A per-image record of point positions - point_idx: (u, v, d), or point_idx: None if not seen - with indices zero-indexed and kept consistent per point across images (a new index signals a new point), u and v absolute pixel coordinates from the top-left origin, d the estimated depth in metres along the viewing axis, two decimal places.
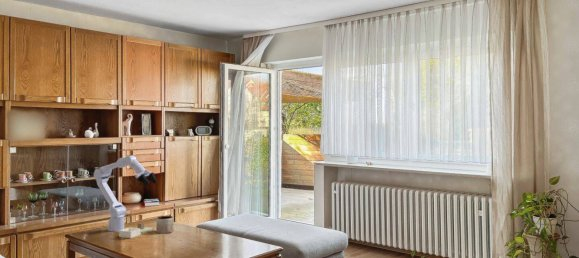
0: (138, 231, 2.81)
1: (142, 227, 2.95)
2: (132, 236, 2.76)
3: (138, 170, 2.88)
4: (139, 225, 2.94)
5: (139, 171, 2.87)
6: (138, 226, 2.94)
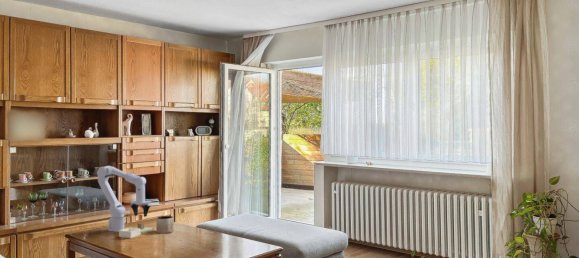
0: (138, 231, 2.81)
1: (142, 227, 2.95)
2: (132, 236, 2.76)
3: (144, 197, 2.95)
4: (139, 225, 2.94)
5: (144, 199, 2.95)
6: (138, 226, 2.94)
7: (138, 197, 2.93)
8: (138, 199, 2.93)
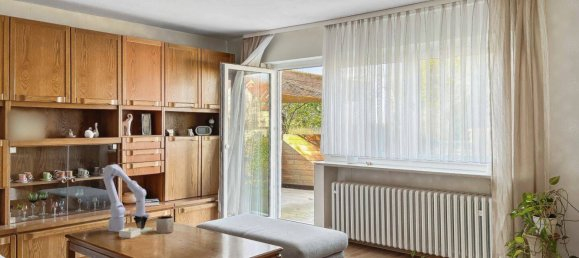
0: (138, 231, 2.81)
1: None
2: (132, 236, 2.76)
3: (144, 209, 2.95)
4: (139, 225, 2.94)
5: (144, 211, 2.95)
6: (138, 226, 2.94)
7: (138, 209, 2.93)
8: (138, 211, 2.93)
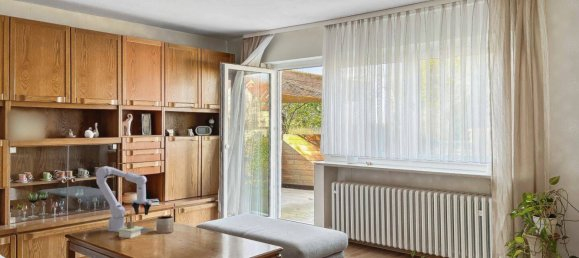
0: (138, 231, 2.81)
1: (132, 226, 2.80)
2: (132, 236, 2.76)
3: (145, 196, 2.97)
4: (129, 224, 2.79)
5: (145, 197, 2.97)
6: (128, 225, 2.79)
7: (139, 196, 2.95)
8: (139, 198, 2.95)
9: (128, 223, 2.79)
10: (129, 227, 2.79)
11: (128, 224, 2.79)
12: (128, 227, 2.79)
